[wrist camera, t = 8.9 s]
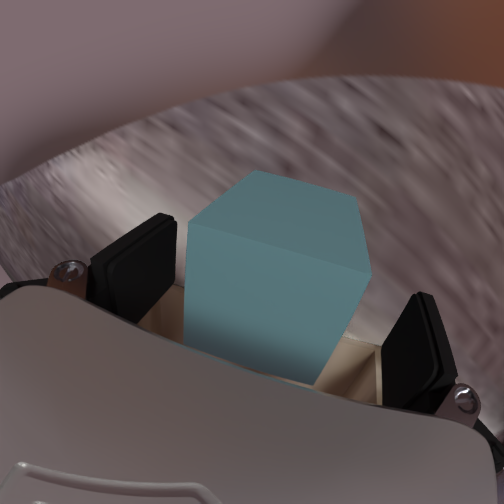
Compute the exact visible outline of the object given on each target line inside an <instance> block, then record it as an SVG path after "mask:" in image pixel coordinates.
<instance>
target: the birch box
mask: <svg viewBox="0 0 504 504" xmlns="http://www.w3.org/2000/svg"><path fill="white" fill-rule="evenodd" d="M184 291H185V288H183V287H180V286H177V285H174V284H173V285H172V286H171V287H170V288H169V290H168V291H167V292H166V293H165V294H164V295H163V296H162V297H161V298H160V299H159V300H158V302H157V303H156V304H155V305H154V306H153V307H152V308H151V309H150V310H149V312H148V313H147V314H146V315H145V316H144V317H143V318H142V319H141V320H140V322H139V323H138V324H137V325H138V326H141V327H143V328H145V329H147V330H149V331H151V332H154V333H156V334H158V335H160V336H163V337H165V338H167V339H169V340H172V341H174V342H177V343H179V344H181V345H184V344H183V333H184ZM184 346H186V347H189V346H187V345H184ZM189 348H191V349H194V348H192V347H189ZM194 350H196V351H199V352H201V353H204V354H206V355H209V356H211V357H214V358H217V359H219V360H222V361H225V362H227V363H230V364H233V365H236V366H239V367H242V368H244V369H247V370H250V371H253V372H256V373H259V374H262V375H265V376H269V377H272V378H275V379H278V380H281V381H285V382H288V383H292V384H295V385H298V386H302V387H306V388H309V389H313V390H317V391H320V392H324V393H328V394H332V395H336V396H340V397H345V398H349V399H353V400H358V401H363V402H367V403H372V404H377V405H382V371H381V346H377V345H373V344H369V343H365V342H361V341H357V340H353V339H349V338H345V337H341V339H340V340H339V342H338V344H337V346H336V348H335V349H334V351H333V353H332V355H331V357H330V358H329V360H328V362H327V363H326V365H325V367H324V369H323V370H322V372H321V374H320V375H319V377H318V379H317V380H316V382H315V384H314V385H313V386H311V385H307V384H304V383H300V382H296V381H292V380H289V379H285V378H281V377H278V376H274V375H271V374H268V373H264V372H261V371H258V370H255V369H251V368H248V367H245V366H242V365H239V364H236V363H233V362H230V361H227V360H224V359H222V358H219V357H216V356H213V355H210V354H208V353H205V352H202V351H200V350H197V349H194Z"/></svg>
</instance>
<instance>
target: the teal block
mask: <svg viewBox="0 0 504 504" xmlns="http://www.w3.org/2000/svg"><path fill="white" fill-rule="evenodd" d="M371 276H372V272H371V267H370V261H369V256H368V250H367V245H366V240H365V236H364V231H363V226H362V222H361V217H360V213H359V209H358V205H357V201H356V197H353V196H350V195H347V194H343V193H340V192H337V191H333V190H330V189H326V188H323V187H320V186H316V185H312V184H309V183H305V182H301V181H298V180H294V179H290V178H286V177H282V176H278V175H274V174H270V173H266V172H262V171H258V170H254V171H253V172H251V173H250V174H249V175H247V176H246V177H245V178H243V179H242V180H241V181H239V182H238V183H237V184H236V185H234V186H233V187H232V188H230V189H229V190H228V191H226V192H225V193H224V194H223V195H221V196H220V197H219V198H218V199H216V200H215V201H214V202H212V203H211V204H210V205H209V206H207V207H206V208H205V209H204V210H202V211H201V212H200V213H199V214H197V215H196V216H195V217H194V218H193V219H191V220H190V221H189V222H188V234H187V250H186V268H185V291H184V333H183V344H184V345H187V346H189V347H192V348H194V349H197V350H200V351H202V352H205V353H208V354H210V355H213V356H216V357H219V358H222V359H224V360H227V361H230V362H233V363H236V364H239V365H242V366H245V367H248V368H251V369H255V370H258V371H261V372H264V373H268V374H271V375H274V376H278V377H281V378H285V379H289V380H292V381H296V382H300V383H304V384H307V385H311V386H313V385H314V384H315V382H316V380H317V379H318V377H319V375H320V374H321V372H322V370H323V369H324V367H325V365H326V363H327V362H328V360H329V358H330V357H331V355H332V353H333V351H334V349H335V348H336V346H337V344H338V342H339V340H340V339H341V337H342V335H343V333H344V331H345V329H346V327H347V325H348V323H349V321H350V320H351V318H352V316H353V314H354V312H355V310H356V308H357V306H358V304H359V302H360V299H361V297H362V295H363V293H364V291H365V289H366V287H367V285H368V283H369V280H370V278H371Z"/></svg>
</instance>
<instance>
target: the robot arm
mask: <svg viewBox="0 0 504 504" xmlns="http://www.w3.org/2000/svg"><path fill="white" fill-rule="evenodd" d="M176 240H177V222H176V221H174V217H173V216H170V215H167V214H163V213H158V214H156V215H154V216H153V217H151V218H150V219H148V220H147V221H145V222H143V223H142V224H140V225H139V226H137V227H136V228H134V229H133V230H131V231H130V232H128V233H127V234H125V235H123V236H122V237H121V238H119V239H118V240H116V241H115V242H113V243H112V244H110V245H109V246H107V247H106V248H104V249H103V250H101V251H100V252H99V253H97V254H96V255H94V256H93V257H92V258H90V260H91V265H89V266H88V267H87V265H86V264H85V263H84V262H82V261H79V260H66V261H63V262H60V263H58V264H57V265H55V266H54V267H53V268H52V269H51V271H50V274H49V278H45V279H37V280H28V281H20V282H13V283H8V284H6V285H4V286H3V287H2V288H1V289H0V504H504V470H503V467H504V447H503V445H502V444H501V443H500V442H499V441H498V439H497V438H496V437H495V436H494V435H493V434H492V433H491V432H490V431H489V429H488V428H487V427H486V426H485V425H484V424H483V423H482V422H481V421H480V420H479V419H478V416H479V413H480V410H481V402H480V399H479V396H478V395H477V393H476V392H475V390H474V389H473V388H471V387H470V386H469V385H466V384H464V383H458V384H456V383H455V379H456V377H457V376H458V373H457V369H456V366H455V362H454V358H453V355H452V351H451V348H450V344H449V341H448V338H447V335H446V332H445V328H444V325H443V323H442V320H441V317H440V314H439V311H438V308H437V306H436V303H435V300H434V298H433V296H432V295H430V294H427V293H423V292H418V293H417V294H413V295H412V296H411V298H410V300H409V301H408V303H407V305H406V307H405V308H404V310H403V312H402V314H401V315H400V317H399V319H398V320H397V322H396V324H395V325H394V327H393V328H392V330H391V332H390V333H389V335H388V336H387V338H386V340H385V341H384V343H383V345H382V347H381V371H382V405H377V404H372V403H367V402H363V401H358V400H353V399H349V398H345V397H340V396H336V395H332V394H328V393H324V392H320V391H317V390H313V389H309V388H306V387H302V386H298V385H295V384H292V383H288V382H285V381H281V380H278V379H275V378H272V377H269V376H265V375H262V374H259V373H256V372H253V371H250V370H247V369H244V368H242V367H239V366H236V365H233V364H230V363H227V362H225V361H222V360H219V359H217V358H214V357H211V356H209V355H206V354H204V353H201V352H199V351H196V350H194V349H191V348H189V347H186V346H184V345H181V344H179V343H177V342H174V341H172V340H169V339H167V338H165V337H163V336H160V335H158V334H156V333H154V332H151V331H149V330H147V329H145V328H143V327H141V326H138V325H137V324H138V323H139V322H140V320H141V319H142V318H143V317H144V316H145V315H146V314H147V313H148V312H149V310H150V309H151V308H152V307H153V306H154V305H155V304H156V303H157V302H158V300H159V299H160V298H161V297H162V296H163V295H164V294H165V293H166V292H167V291H168V290H169V288H170V287H171V286H172V285H173V283H174V280H175V264H176Z"/></svg>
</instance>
